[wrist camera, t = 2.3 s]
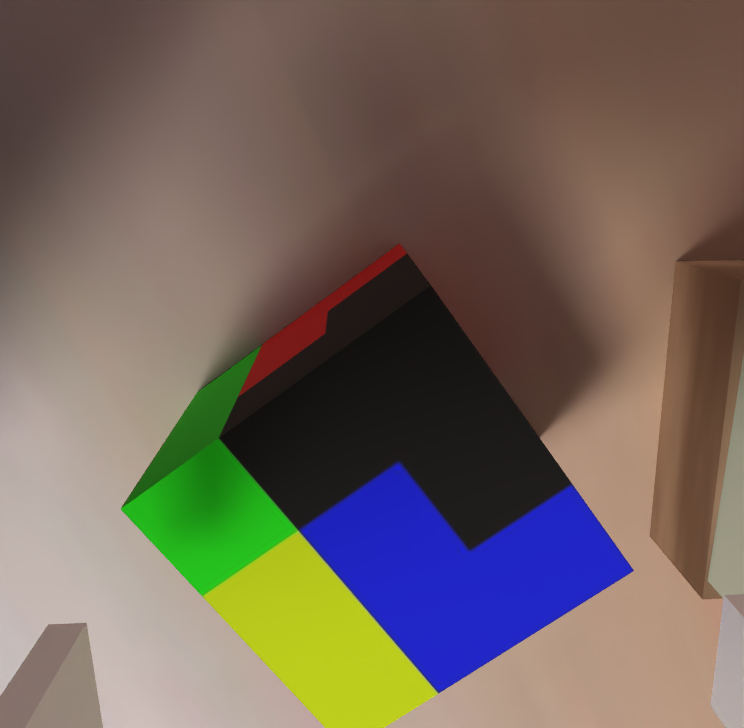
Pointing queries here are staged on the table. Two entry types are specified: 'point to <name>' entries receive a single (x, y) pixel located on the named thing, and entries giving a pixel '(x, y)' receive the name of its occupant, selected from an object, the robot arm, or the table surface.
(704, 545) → the bottom slab
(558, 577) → the puzzle toy
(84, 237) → the table surface
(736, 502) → the top slab
